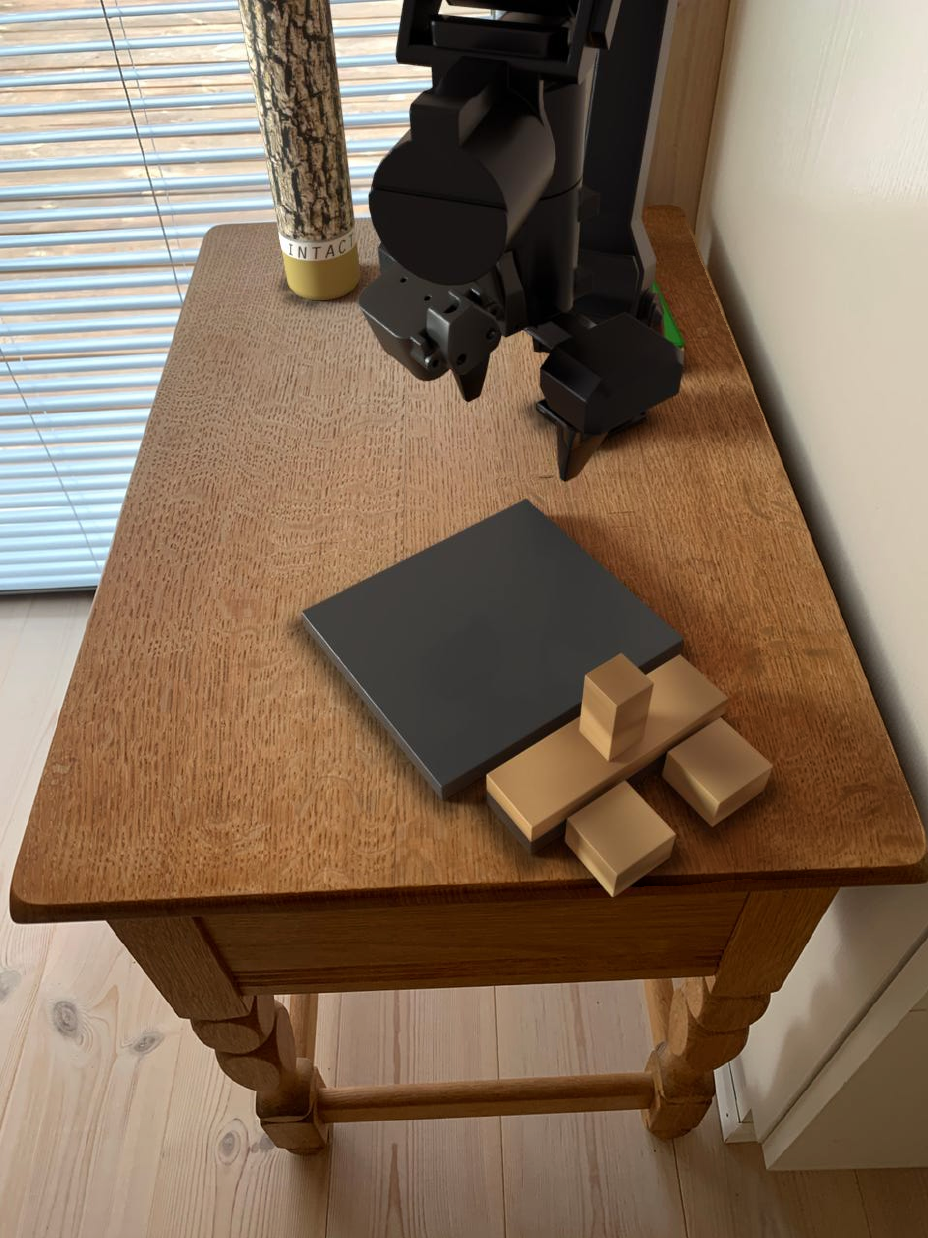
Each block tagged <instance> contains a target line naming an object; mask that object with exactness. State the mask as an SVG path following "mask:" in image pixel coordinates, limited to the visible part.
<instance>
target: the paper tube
mask: <svg viewBox="0 0 928 1238" xmlns="http://www.w3.org/2000/svg"><path fill="white" fill-rule="evenodd" d="M237 4H238V10H239V15H240V22H241V27H242V33H243V38H244V45H245V50H246V55H247V61H248V66H249V73H250V78H251V83H252V90H253V96H254V101H255V106H256V111H257V118H258V124H259V129H260V136H261V141H262V146H263V147H262V148H263V152H264V157H265V163H266V169H267V175H268V180H269V186H270V191H271V198H272V204H273V209H274V214H275V220H276V226H277V232H278V237H279V244H280V248H281V253H282V259H283V264H284V270H285V276H286V281H287V282H286V283H287V284H288V287H289V288H290V289H291V290H292V291H293V293H294V294H296V295H297V296H298V297H299V296H300V297H302V298H304V299H308V300H313V301H328V300H333V299H337V298H341V297H343V296H345V295H347V294H349V293H350V292H352V291H353V290H355V288H356V287H357V286H358V285H359V282H360V280H361V267H360V259H359V249H358V248H359V247H358V242H357V241H358V238H357V237H358V236H357V230H356V229H357V228H356V221H355V212H354V203H353V193H352V185H351V176H350V168H349V167H350V166H349V159H348V149H347V142H346V133H345V124H344V116H343V115H344V114H343V106H342V105H343V104H342V98H341V97H342V96H341V88H340V80H339V72H338V63H337V54H336V45H335V36H334V27H333V19H332V10H331V9H332V8H331V1H330V0H237Z"/></svg>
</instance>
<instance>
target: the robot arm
mask: <svg viewBox="0 0 928 1238" xmlns="http://www.w3.org/2000/svg"><path fill="white" fill-rule="evenodd" d="M445 2H446V4H447V5H448V6H449V7H458V8H468V9H478V10H488V11H498V12H504V13H503V14H502V15H501V16H500V17H498V18H497V19H492V18H482V17H473V16H463V15H454V14H453V15H452V14H444V13H443V14H442V13H440V10H441V7H442V4H443V0H402V6H401V14H400V20H399V25H398V32H397V38H396V45H395V61H396V63H397V64H398V65H405V66H415V67H422V68H423V67H424V68H430V70H431V87H430V88H428V89H425V90H423V91H422V92H421V93H419V95H417V97H415V99H414V100H413V101H412V102H411V103H410V106H409V111H408V115H409V129H408V130H407V131H406V132H405V133H404V134H403V135H402V136H401V137H400V138H399V140H398V141H397V142H396V143H395V144H394V145H393V146H392V148H390V149H389V151H388V152H387V153H386V154H385V155H384V156H383V157H382V159H381V160H380V162H379V164H378V166H377V168H376V169H375V171H374V174H373V176H372V181H371V187H370V191H368V195H367V196H368V197H367V199H368V211H369V214H370V218H371V219H370V220H371V223H372V226H373V228H374V231H375V233H376V234H377V236H378V239H379V241H380V243H379V244H378V246H377V257H378V266H379V275H378V276H377V277H376V278H374V279H373V280H372V281H371V282H370V283H368V284H367V285H366V286H365V287H364V288H363V289H361V292H360V293H359V295H358V298H357V304H358V307H359V309H360V311H361V312H362V314H363V316H364V318H365V319H366V321H367V324H368V326H369V327H370V329H371V331H372V332H373V334H374V336H375V338H376V339H377V341H378V343H379V345H380V346H381V349H382V350H383V351H384V352H385V354H386V355H388V356H391V357H392V358H393V359H395V360H396V361H397V362H398V363H399V364H401V366H403V367H404V368H405V369H407V370H408V371H409V373H410V374H411V375H412V376H413V377H414V378H415V379H417V380H419V381H420V382H421V381H422V382H432V381H435V380H438V379H440V378H442V377H443V376H444V375H445V374H446V373H447V372H449V371H451V373H452V375H453V378H454V380H455V383H456V385H457V388H458V390H459V393H460V396H461V399H462V400H464V401H465V402H466V403H470V402H473V401H474V400H476V399H478V398H480V397H481V396H482V393H483V389H484V386H485V381H486V377H487V374H488V369H489V365H490V364H489V363H490V360H491V359H490V358H491V354H492V353H493V352H495V351H496V349H497V348H498V347H499V346H500V342H501V340H502V337H503V338H505V339H507V338H509V337H511V336H513V335H516V334H518V333H520V332H522V331H523V332H526V334H527V335H529V336H530V337H531V341H532V348H533V353H538V354H542V353H544V354H547V357H546V358H545V360H544V361H543V362H542V364H541V366H540V367H539V389H540V391H541V394H542V395H543V397H544V398H543V399H541V400H538V401H537V402H536V403H535V411H536V412H537V413H539V414H540V415H541V416H542V417H544V418H545V419H546V421H549V422H550V423H551V424H552V425H553V426H555V427H556V456H557V459H556V460H557V468H558V474H559V479H560V480H561V481H563V482H564V483H567V482H569V481H572V480H573V479H575V478H577V477H578V476H579V475H580V474H581V472H582V471H583V470H584V468H585V466H586V465H587V464H588V462H589V461H590V459H591V458H592V456H593V455H594V454H595V452H596V451H597V449H598V448H599V446H600V445H601V444H602V443H603V442H605V441H606V440H607V441H608V440H609V439H611V438H613V437H614V436H618V435H619V434H621V433H623V432H625V431H627V430H629V429H632V428H633V427H636V426H637V425H639V424H641V423H644V422H645V421H647V420H648V417H649V412H648V411H649V410H651V409H652V408H654V407H656V406H659V405H660V404H662V403H664V402H666V401H667V400H670V399H672V398H673V397H675V396H677V395H679V394H680V390H681V384H682V378H683V377H682V376H683V372H684V371H683V370H684V363H685V351H684V352H683V351H682V350H681V349H680V348H679V347H677V346H676V345H675V344H674V343H672V342H671V341H669V340H668V339H666V338H665V327H664V309H663V305H662V302H661V299H660V296H659V292H658V291H652V290H653V283H654V279H655V276H656V270H657V263H658V261H657V257H656V254H655V251H654V250H653V247H652V244H651V242H650V241H651V240H650V239H649V236H648V233H647V231H646V228H645V225H644V222H643V220H642V215H643V208H644V203H645V196H646V190H647V184H648V178H649V172H650V167H651V160H652V155H653V149H654V143H655V137H656V132H657V126H658V120H659V114H660V107H661V102H662V97H663V89H664V85H665V79H666V73H667V68H668V60H669V55H670V50H671V45H672V38H673V32H674V26H675V20H676V16H677V15H676V14H677V8H678V4H679V3H678V2H679V0H445ZM591 70H592V79H591V86H590V92H589V100H588V90H589V89H588V88H589V73H590V72H591ZM587 105H588V106H587ZM587 107H588V108H587Z"/></svg>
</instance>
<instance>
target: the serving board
mask: <svg viewBox="0 0 928 1238" xmlns="http://www.w3.org/2000/svg"><path fill="white" fill-rule="evenodd" d="M300 613H301V614H300V615H301V618H302V622H303V627H304V628H305V630H306V631H307V632H308V633H309V634H310V636H311V637H312V639H313V640H314V641H315V642H316V643H317V645H318V646H319V647H320V648H321V649H322V651H323V652H324V654H325V655H326V656H327V657H328V659H329V660H330V661H331V662H332V664H333V665H334V666H335V668H336V669H337V670H338V672H339V673H340V674H341V675H342V677H344V679H345V680H346V681H347V683H348V684H349V686H351V688H352V689H353V690H354V691H355V693H356V694H357V696H359V698H360V699H361V700H362V702H363V703H364V704H365V705H366V707H367V708H368V709H369V710H370V712H371V713H372V715H374V717H375V718H376V719H377V720H378V721H379V723H380V725H382V727H383V728H384V729H385V731H386V732H387V733H388V734H389V736H390V737H391V739H393V741H394V742H395V744H396V745H397V746H398V747H399V748H400V750H401V751H402V753H404V755H405V757H407V759H408V760H409V762H411V763H412V765H413V766H414V767H415V769H416V770H417V771H418V772H419V774H420V775H421V776H422V777H423V779H424V780H425V781H426V783H427V784H428V786H430V787H431V789H432V790H433V791H434V792H435V794H436V795H437V796H438V798H439V799H440V800H441V801H442V802H444V801H446V800H447V799H449V798H451V797H453V796H454V795H456V794H457V793H459V792H461V791H462V790H464V789H465V788H467V787H468V786H470V785H472V784H473V783H475V782H477V781H478V780H480V779H481V778H483V777H485V776H487V774H488V773H490V772H492V771H493V770H495V769H496V768H498V767H500V766H501V765H503V764H504V763H506V762H508V761H509V760H511V759H512V758H514V757H516V756H517V755H519V754H520V753H522V752H524V751H525V750H527V749H528V748H530V747H532V746H533V745H535V744H536V743H538V742H540V741H541V740H543V739H544V738H546V737H548V736H549V735H551V734H552V733H554V732H556V731H557V730H559V729H561V728H562V727H564V726H565V725H567V724H569V723H570V722H572V721H573V720H575V719H577V718H578V717H580V716H581V708H582V699H583V690H584V680H585V675H586V674H588V673H589V672H591V671H593V670H594V669H596V668H598V667H599V666H601V665H603V664H604V663H606V662H608V661H609V660H611V659H612V658H614V657H616V656H617V655H619V654H621V653H622V654H623V655H624V656H626V657H627V658H628V659H629V660H630V661H631V662H632V663H633V664H634V665H635V666H636V667H637V668H638V669H639V670H640V671H641V672H643V673H644V674H645V675H647V674H649V673H650V672H652V671H654V670H655V669H657V668H658V667H660V666H662V665H663V664H665V663H666V662H668V661H670V660H671V659H673V658H674V657H676V656H678V655H679V654H680V655H682V653H683V648H684V643H685V637H684V636H682V635H681V634H680V633H679V632H678V631H677V630H676V629H674V628H673V627H672V626H671V625H670V624H669V623H668V622H667V621H665V619H663V618H662V617H661V616H660V615H659V614H657V613H656V612H655V611H654V610H653V609H652V608H651V607H650V606H648V605H647V604H646V603H645V602H644V601H643V600H641V599H640V597H638V596H637V595H636V594H635V593H633V591H632V590H630V589H629V587H627V586H626V585H625V584H624V583H623V582H621V581H620V580H619V579H618V578H617V577H615V575H614V574H612V573H611V572H610V571H609V570H608V569H607V568H605V566H603V565H602V563H600V562H599V561H598V560H597V559H596V558H594V557H593V556H592V555H591V554H590V553H589V552H588V551H586V550H585V549H584V548H583V547H582V546H581V545H579V543H578V542H576V541H575V540H574V539H573V538H572V537H571V536H570V535H568V534H567V532H565V531H564V530H563V529H562V528H560V526H558V525H557V524H556V523H555V522H553V520H551V519H550V518H549V517H548V516H547V515H545V514H544V512H542V511H541V510H540V509H539V508H538V507H536V505H534V504H533V503H532V502H531V501H530V500H529V499H528V498H524V499H522V500H520V501H518V502H516V503H514V504H512V505H509V506H508V507H506V508H504V509H502V510H499V511H498V512H496V513H494V514H492V515H490V516H488V517H486V518H484V519H482V520H480V521H478V522H476V523H475V524H472V525H470V526H468V527H466V528H464V529H462V530H460V531H459V532H457V533H454V534H453V535H450V536H449V537H446V538H445V539H443V540H441V541H438V542H436V543H434V544H432V545H431V546H429V547H426V548H425V549H423V550H420V551H419V552H417V553H414V554H413V555H411V556H409V557H407V558H405V559H403V560H400V561H399V562H396V563H394V564H393V565H391V566H389V567H387V568H384V569H383V570H381V571H378V572H377V573H375V574H373V575H371V576H369V577H366V578H365V579H363V580H361V581H359V582H357V583H355V584H353V585H351V586H349V587H347V588H345V589H343V590H341V591H339V592H337V593H335V594H333V595H331V596H329V597H327V598H326V599H323V600H321V601H319V602H317V603H315V604H313V605H312V606H309V607H308V608H307V607H306V608H305V609H303V610H301V612H300Z"/></svg>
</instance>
